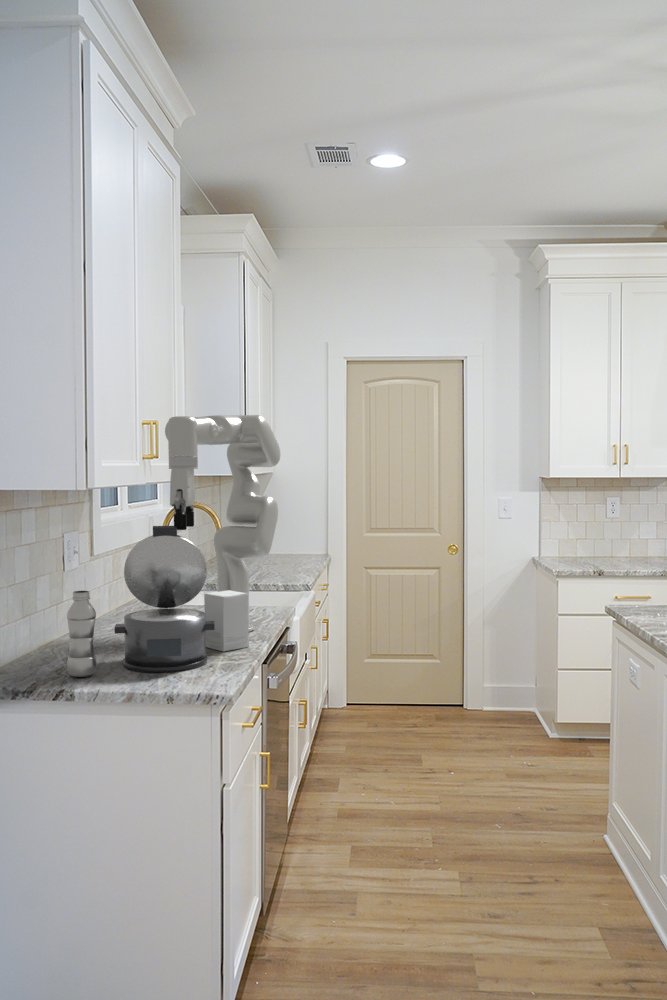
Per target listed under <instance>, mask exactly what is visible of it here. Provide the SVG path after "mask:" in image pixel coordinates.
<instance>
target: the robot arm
mask: <svg viewBox="0 0 667 1000" xmlns="http://www.w3.org/2000/svg"><path fill="white" fill-rule="evenodd" d="M272 429H273V428H272V427H271V425H270V424H269V422H268V421H267V420H266V418H265V417H264V416H262V415H260V414H249V415H248V414H244V415H242V414H240V415H232V414H231V415H222V414H220V415H219V414H218V415H205V416H184V415H181V416H179V415H178V416H172V417H170V418H169V419H168V421H167V423H166V424H165V427H164V435H165V437H166V439H167V441H168V445H167V446H168V448H167V449H168V450H167V451H168V470H171V471H170V482H169V483H170V485H169V489H170V490H169V505H170V506H171V507H172V508H174V509H173V526H177V531H186V530H187V527H188V528H190V527H194V526H195V511H194V510H195V509H194V504H195V502H196V501H195V499H196V490H195V487H196V483H195V470H198V466H199V465H198V463H199V461H198V446H200V445H201V446H205V445H207V446H208V445H209V446H213V445H214V446H217V445H219V446H221V445H228V446H227V450H226V458H227V462H228V465H229V468H230V471H231V476H232V481H233V483H232V489H231V492H230V497H229V500H228V503H227V508H226V520H227V521H228V523H229V524H231V525H226V526H222V527H220V528H219V529H217V530H216V532H215V533H214V536H213V545H214V546H213V547H214V552H215V556H216V557H215V558H216V566H217V567H216V568H217V571H216V572H217V575H216V577H217V579H216V580H217V581H216V582H217V592H220V591H227V590H230V591H236V592H242V593H248V599H249V600H250V573H249V572H250V571H249V568H248V566H247V565H246V563H245V562H244V559H264V558H266V557H268V555H269V553H270V552H271V549H272V546H273V541H274V535H275V532H276V528H277V524H278V523H277V522H278V518H279V507H278V503H277V501H276V499H275V498H274V497H272V496H270V495H260V490H261V483H260V481H259V478H258V477H257V476H256V475H255V473H254V472H253V471H252V469H251V468H271V467H275V466H276V465H278V464H279V462H280V459H281V449H280V446H279V443H278V441H277V438H276V436H275V434H274V432H273V430H272ZM252 630H253V631H254V630H255V624H252V623H250V622H249V632H250V633H251V632H252Z"/></svg>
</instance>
